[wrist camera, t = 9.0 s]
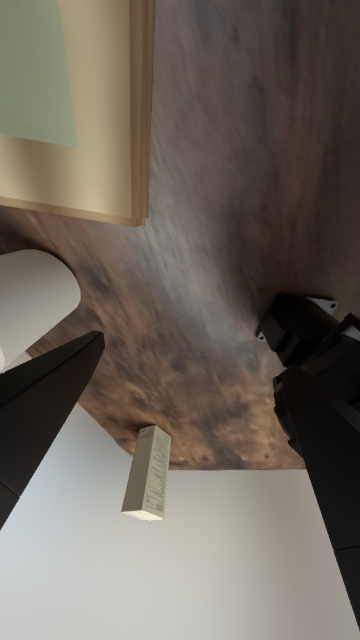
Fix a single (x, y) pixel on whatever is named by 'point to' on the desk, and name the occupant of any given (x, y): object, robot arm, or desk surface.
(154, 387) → the desk surface
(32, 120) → the green block
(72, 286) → the can
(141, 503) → the skincare box
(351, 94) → the desk surface
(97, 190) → the base slab
